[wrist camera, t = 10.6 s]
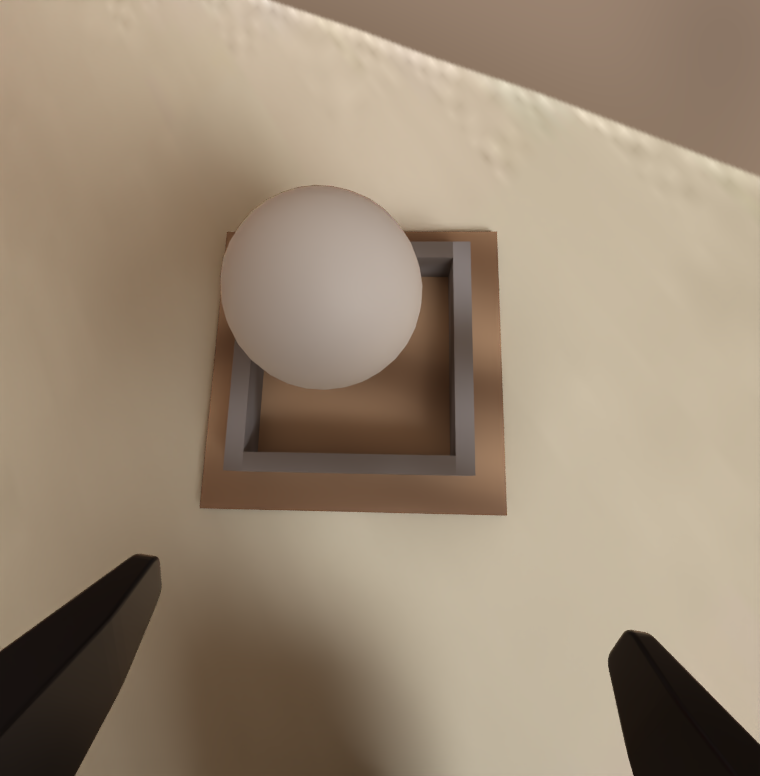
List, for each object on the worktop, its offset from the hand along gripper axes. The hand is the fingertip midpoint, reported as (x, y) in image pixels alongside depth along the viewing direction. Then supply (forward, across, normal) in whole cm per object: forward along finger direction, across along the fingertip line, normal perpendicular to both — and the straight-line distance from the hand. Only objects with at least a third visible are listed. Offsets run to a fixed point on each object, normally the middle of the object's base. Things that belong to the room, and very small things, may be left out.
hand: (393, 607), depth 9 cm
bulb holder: (+14, +2, +2) cm, 15 cm away
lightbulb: (+14, +2, +2) cm, 15 cm away
